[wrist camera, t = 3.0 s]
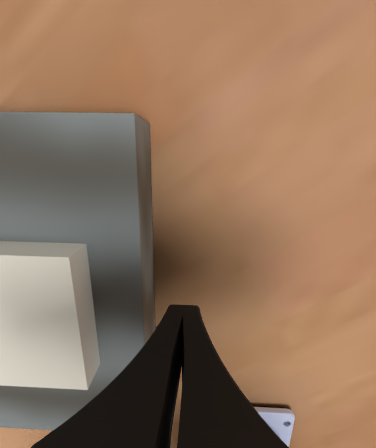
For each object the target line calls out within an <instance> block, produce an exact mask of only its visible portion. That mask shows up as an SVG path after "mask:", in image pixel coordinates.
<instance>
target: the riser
mask: <svg viewBox="0 0 376 448" xmlns="http://www.w3.org/2000/svg"><path fill="white" fill-rule="evenodd" d="M0 241H17V242H49V243H81V244H86V245H87V253H88V262H89V271H90V279H91V288H92V296H93V305H94V314H95V322H96V331H97V339H98V348H99V357H100V365H99V367H98V369H97V371H96V373H95V376H94V378H93V380H92V382H91V384H90V386H89V388H88V390H78V389H59V388H40V387H20V386H1V385H0V427H5V428H22V429H39V430H55V429H56V428H57V427H59V426H60V425H61V424H63V423H64V422H65V421H67V420H68V419H69V418H70V417H72V416H73V415H74V414H76V413H77V412H78V411H79V410H80V409H81V408H83V407H84V406H85V405H86V404H87V403H88V402H90V401H91V400H92V399H93V398H94V397H95V396H97V395H98V394H99V393H100V392H101V391H102V390H103V389H104V388H105V387H106V386H108V385H109V384H110V383H111V382H112V381H113V380H114V379H115V378H116V377H117V376H118V375H119V374H120V373H121V372H122V370H123V369H124V368H125V367H126V366H127V365H128V364H129V363H130V362H131V361H132V359H133V358H134V357H135V356H136V355H137V353H138V352H139V351H140V350H141V348H142V347H143V346H144V344H145V343H146V342H147V341H148V339H149V338H150V337H151V335H152V334H153V332H154V331H155V295H154V259H153V223H152V187H151V152H150V124H149V123H148V122H146V121H145V120H144V119H142V118H141V117H139V116H138V115H136V114H135V113H66V112H0Z"/></svg>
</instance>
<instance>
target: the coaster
mask: <svg viewBox="0 0 376 448" xmlns="http://www.w3.org/2000/svg"><path fill="white" fill-rule="evenodd" d="M99 365H100V357H99V348H98V339H97V331H96V322H95V314H94V305H93V296H92V288H91V279H90V271H89V262H88V253H87V245H86V244H81V243H49V242H17V241H0V385H1V386H20V387H40V388H59V389H78V390H88V388H89V386H90V384H91V382H92V380H93V378H94V376H95V373H96V371H97V369H98V367H99Z"/></svg>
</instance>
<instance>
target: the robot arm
mask: <svg viewBox="0 0 376 448" xmlns="http://www.w3.org/2000/svg"><path fill="white" fill-rule="evenodd" d="M181 366H182V398H181V410H180V422H179V433H178V444H177V448H289V444H290V439H291V435H292V430H293V425H294V420H295V416H294V414H293V412H292V410H290V409H286V408H267V407H253V406H252V404H251V403H250V402H249V400H248V399H247V398H246V397H245V395H244V394H243V393H242V391H241V390H240V389H239V387H238V386H237V384H236V383H235V381H234V380H233V378H232V377H231V375H230V374H229V372H228V371H227V369H226V367H225V366H224V364H223V362H222V361H221V359H220V357H219V355H218V353H217V352H216V350H215V348H214V346H213V344H212V342H211V340H210V337H209V335H208V333H207V331H206V328H205V326H204V323H203V320H202V317H201V314H200V309H199V307H198V306H193V305H170V306H169V307H168V309H167V311H166V313H165V315H164V316H163V318H162V320H161V321H160V323H159V325H158V326H157V328H156V329H155V331H154V332H153V334H152V335H151V337H150V338H149V339H148V341H147V342H146V343H145V344H144V346H143V347H142V348H141V350H140V351H139V352H138V353H137V355H136V356H135V357H134V358H133V359H132V361H131V362H130V363H129V364H128V365H127V366H126V367H125V368H124V369H123V370H122V372H121V373H120V374H119V375H118V376H117V377H116V378H115V379H114V380H113V381H112V382H111V383H110V384H109V385H108V386H106V387H105V388H104V389H103V390H102V391H101V392H100V393H99V394H98V395H97V396H95V397H94V398H93V399H92V400H91V401H90V402H88V403H87V404H86V405H85V406H84V407H83V408H81V409H80V410H79V411H78V412H77V413H76V414H74V415H73V416H72V417H70V418H69V419H68V420H67V421H65V422H64V423H63V424H61V425H60V426H59V427H57V428H56V429H55V430H53V431H52V432H51V433H49V434H48V435H47V436H45V437H44V438H42V439H41V440H40V441H38V442H37V443H35V444H34V445H33V446H32V447H31V448H170V443H171V432H172V424H173V417H174V411H175V404H176V398H177V392H178V386H179V379H180V373H181Z"/></svg>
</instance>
